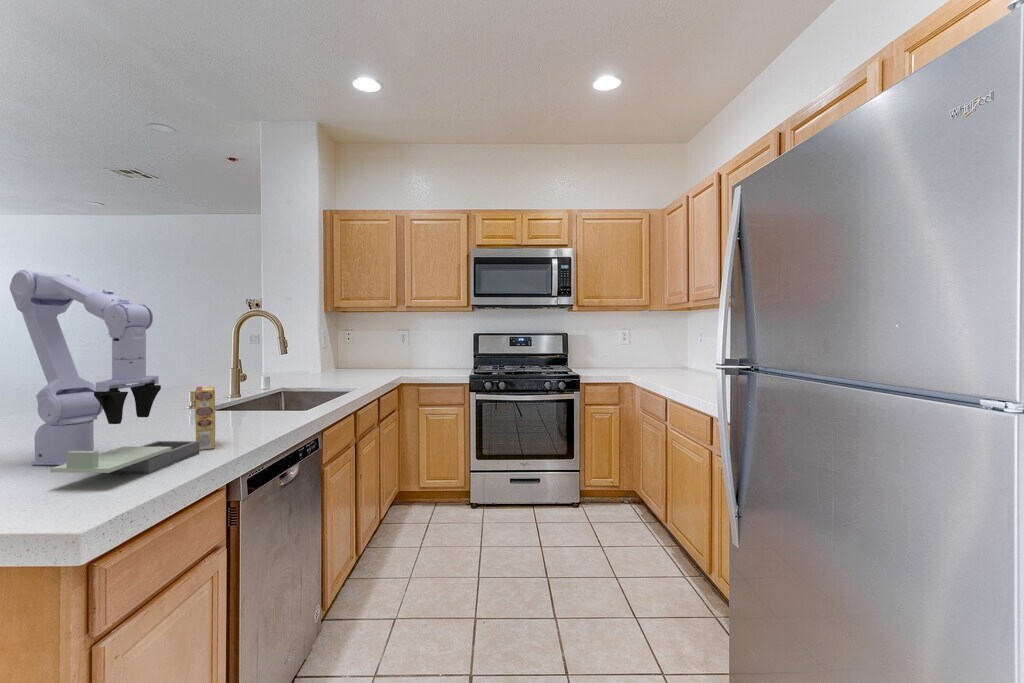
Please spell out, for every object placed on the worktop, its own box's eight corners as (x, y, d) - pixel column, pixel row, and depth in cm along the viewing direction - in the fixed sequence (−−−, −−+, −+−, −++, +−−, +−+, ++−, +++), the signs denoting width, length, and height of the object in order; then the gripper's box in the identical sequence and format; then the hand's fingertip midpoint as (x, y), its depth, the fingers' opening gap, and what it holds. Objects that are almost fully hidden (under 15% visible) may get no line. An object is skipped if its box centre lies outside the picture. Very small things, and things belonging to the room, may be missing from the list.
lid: (50, 472, 85) (50, 452, 85) (123, 450, 101) (123, 433, 101) (108, 472, 85) (108, 452, 85) (171, 450, 102) (171, 433, 102)
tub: (100, 473, 95) (100, 459, 95) (157, 453, 111) (157, 440, 111) (148, 473, 95) (148, 459, 95) (199, 453, 111) (199, 441, 111)
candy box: (215, 449, 116) (215, 389, 116) (194, 451, 114) (195, 390, 113) (215, 441, 123) (215, 385, 123) (196, 443, 121) (196, 386, 121)
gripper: (120, 360, 93) (120, 427, 93) (171, 357, 107) (171, 414, 107) (84, 360, 93) (85, 426, 93) (141, 356, 107) (141, 414, 107)
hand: (129, 420), depth 100 cm, fingers open, 7 cm apart
